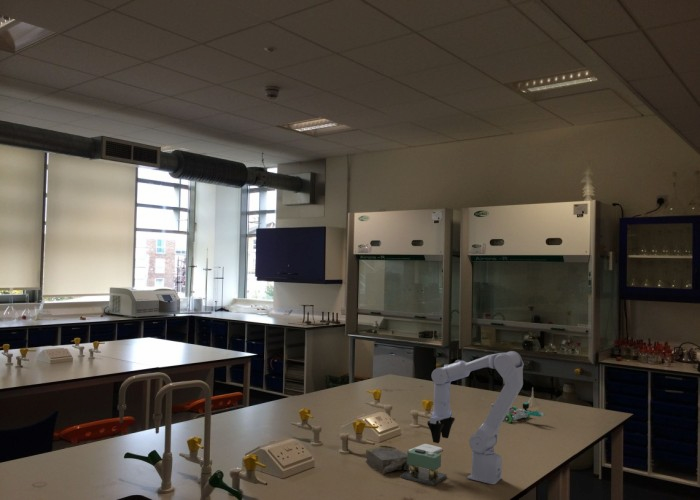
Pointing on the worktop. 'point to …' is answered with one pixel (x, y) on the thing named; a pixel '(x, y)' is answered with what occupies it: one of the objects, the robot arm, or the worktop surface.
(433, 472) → the plate
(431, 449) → the external hard drive
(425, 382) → the worktop surface
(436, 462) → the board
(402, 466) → the geological specimen
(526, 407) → the robot kit
